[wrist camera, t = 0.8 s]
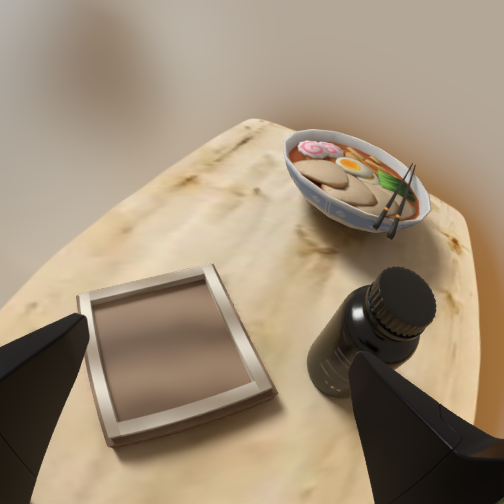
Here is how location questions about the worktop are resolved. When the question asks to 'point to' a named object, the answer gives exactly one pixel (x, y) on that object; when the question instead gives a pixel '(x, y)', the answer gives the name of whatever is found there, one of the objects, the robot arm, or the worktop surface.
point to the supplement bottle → (372, 328)
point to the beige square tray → (168, 356)
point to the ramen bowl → (355, 181)
